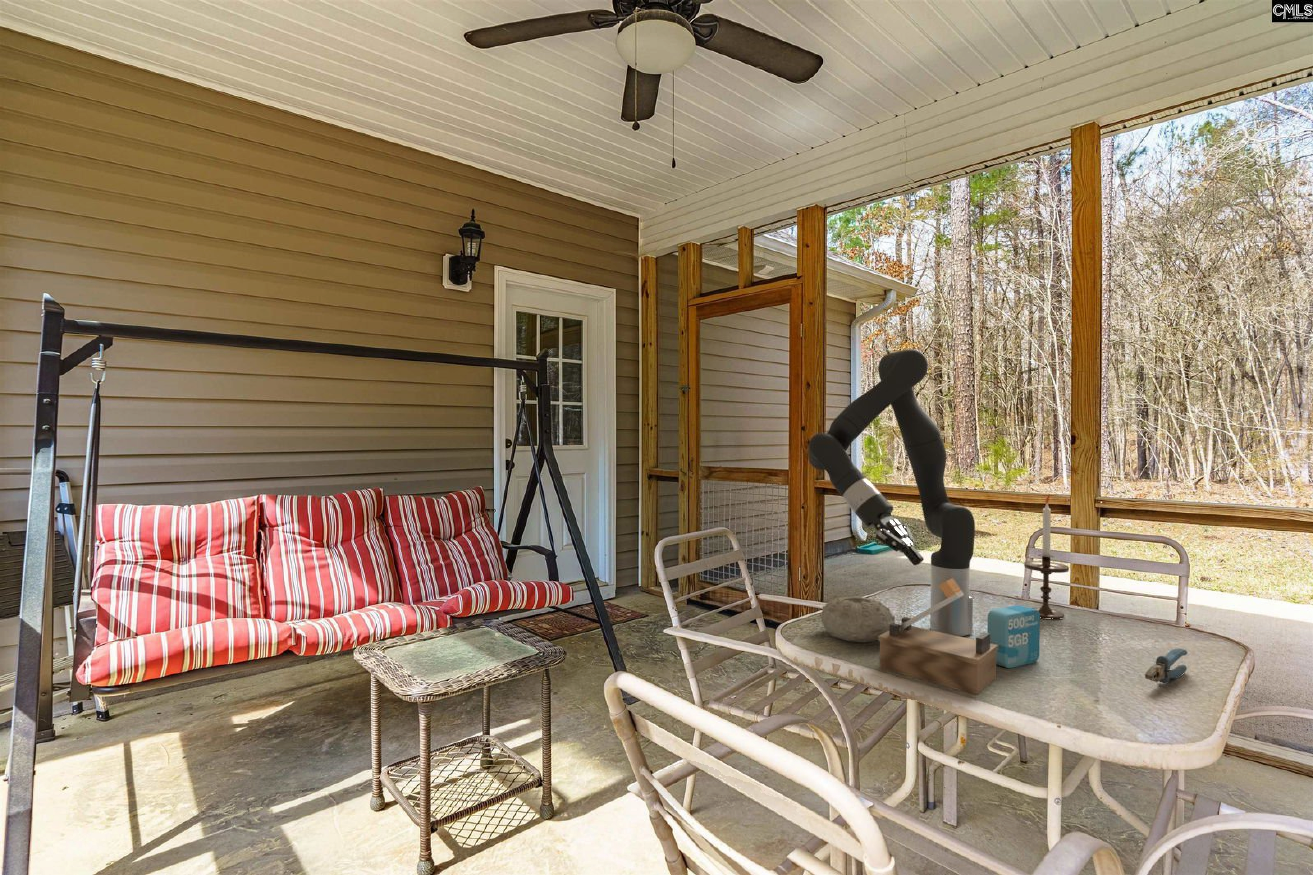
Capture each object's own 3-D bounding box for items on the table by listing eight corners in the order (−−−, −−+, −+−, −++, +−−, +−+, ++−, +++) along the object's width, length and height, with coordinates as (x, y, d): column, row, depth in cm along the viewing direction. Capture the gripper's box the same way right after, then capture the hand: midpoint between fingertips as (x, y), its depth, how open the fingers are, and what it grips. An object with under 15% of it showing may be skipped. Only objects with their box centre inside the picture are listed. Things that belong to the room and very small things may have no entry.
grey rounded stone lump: (821, 624, 171) (822, 587, 170) (891, 630, 166) (892, 592, 166) (819, 645, 153) (820, 604, 153) (897, 653, 148) (898, 610, 148)
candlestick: (1077, 619, 176) (1079, 494, 176) (1044, 621, 174) (1046, 495, 174) (1046, 609, 187) (1047, 491, 187) (1014, 610, 185) (1016, 491, 184)
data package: (1005, 669, 138) (1005, 615, 138) (986, 663, 143) (987, 610, 142) (1039, 661, 144) (1040, 608, 144) (1020, 655, 148) (1021, 604, 148)
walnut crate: (877, 667, 139) (878, 621, 139) (901, 653, 148) (902, 610, 148) (978, 695, 125) (978, 643, 125) (997, 677, 134) (998, 629, 134)
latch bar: (896, 633, 140) (885, 616, 142) (903, 629, 143) (892, 613, 145) (958, 599, 131) (946, 581, 133) (965, 595, 134) (952, 577, 136)
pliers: (1153, 695, 126) (1154, 665, 126) (1140, 691, 127) (1141, 662, 127) (1189, 674, 137) (1190, 647, 137) (1177, 671, 139) (1178, 644, 138)
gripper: (865, 494, 141) (919, 556, 132) (890, 490, 150) (943, 548, 142) (842, 515, 144) (894, 577, 136) (869, 510, 154) (919, 568, 145)
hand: (919, 562), depth 139 cm, fingers closed
